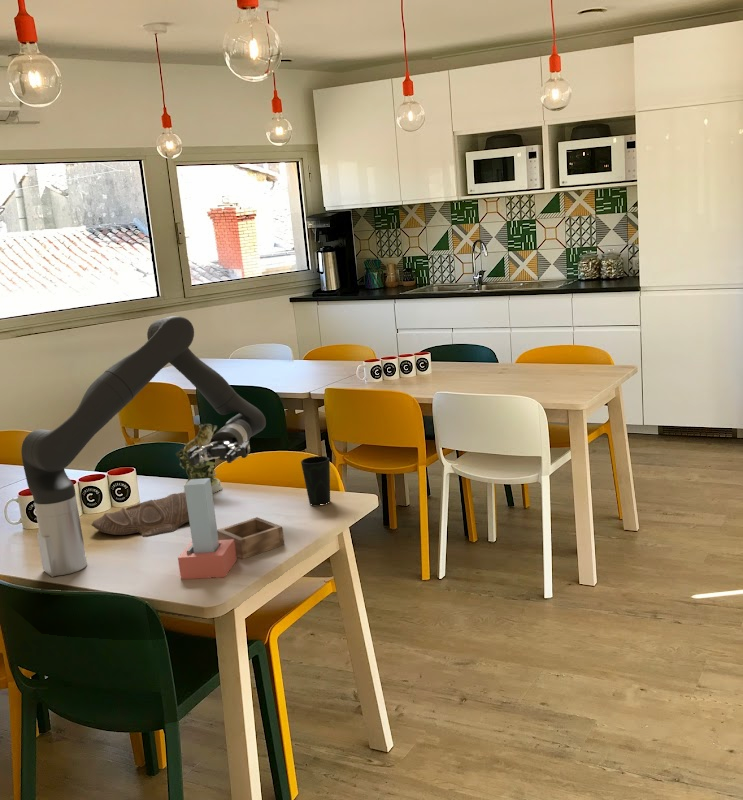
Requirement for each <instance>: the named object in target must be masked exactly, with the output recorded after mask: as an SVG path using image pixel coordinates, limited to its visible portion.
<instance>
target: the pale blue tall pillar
mask: <svg viewBox="0 0 743 800" xmlns="http://www.w3.org/2000/svg"><path fill="white" fill-rule="evenodd" d="M187 481H188V480H187ZM187 481H186V482H187ZM186 482H185V483H186ZM185 483H184V484H185ZM184 484H183V488H184V487H185V494H186V501H187V508H188V515H189V522H188V523H189V527H190V528H189V529H190V535H191V536H190V537H191V542H192V543H193V551H194V553H209V552H216V550H217V549H218V548H219V540H218V533H217V530H218V527H217V519H216V513H215V512H216V511H215V504H214V503H215V502H214V497H213V496H214V495H213V494H212V488H211V481H210V478H205V479H190V480H189V481H188V482H187V483H186V484H185V485H184Z"/></svg>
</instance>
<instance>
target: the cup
mask: <svg viewBox="0 0 743 800" xmlns="http://www.w3.org/2000/svg"><path fill="white" fill-rule="evenodd" d="M330 459H331V458H329V457H328V456H324V455H317V456H310V457H306V458H303V459H302V460H301V461H300V463H301V469H302V473H303V478H304V483H305V487H306V493H307V497H308V502H309V505H310V504H312V505H320V504H326V503H328V502H330V503H331V470H330V469H331V462H330V461H331V460H330Z"/></svg>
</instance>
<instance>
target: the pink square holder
mask: <svg viewBox="0 0 743 800" xmlns="http://www.w3.org/2000/svg"><path fill="white" fill-rule="evenodd" d="M237 560H238V559H237V556H236V550H235V543H234V539H230V540H219V548H218V549H217V550H216V552H209V553H194V551H193V543H192V541H191V542H190V543H189V544H188V545H187V546H186V548H185V549H183V551H182V552H181V554H180V555H178V557H177V561H178V566H179V567H178V569H179V576H180V579H181V580H191V579H211V577H216V578H226V576H227V575H228V574H229V572H230V571H231V569H232V568H233V566H234V565H235V563H236V562H237ZM229 570H230V571H229Z"/></svg>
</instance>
